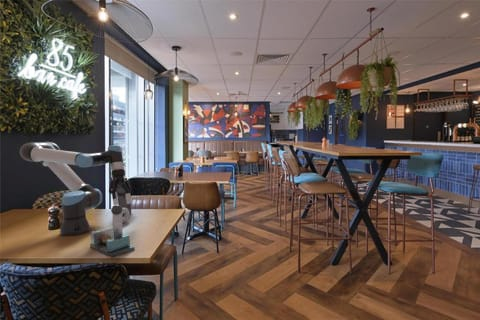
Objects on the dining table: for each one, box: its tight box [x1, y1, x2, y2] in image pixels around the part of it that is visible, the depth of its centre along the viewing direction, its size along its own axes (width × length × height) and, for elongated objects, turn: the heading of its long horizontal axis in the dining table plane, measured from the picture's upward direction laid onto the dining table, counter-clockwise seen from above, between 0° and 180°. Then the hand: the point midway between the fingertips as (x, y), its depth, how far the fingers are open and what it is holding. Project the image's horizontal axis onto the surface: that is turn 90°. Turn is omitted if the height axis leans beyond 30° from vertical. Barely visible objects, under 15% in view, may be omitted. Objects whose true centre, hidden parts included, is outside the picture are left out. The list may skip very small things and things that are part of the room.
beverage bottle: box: [116, 179, 132, 217], centre depth 195 cm, size 10×13×25 cm
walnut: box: [102, 234, 111, 243], centre depth 136 cm, size 4×4×4 cm
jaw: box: [106, 204, 131, 252], centre depth 129 cm, size 5×10×21 cm, turn 144°
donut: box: [122, 208, 131, 224], centre depth 174 cm, size 10×4×10 cm, turn 160°
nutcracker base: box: [89, 226, 135, 259], centre depth 133 cm, size 22×11×8 cm, turn 54°
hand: (122, 204), depth 162 cm, fingers open, 13 cm apart
